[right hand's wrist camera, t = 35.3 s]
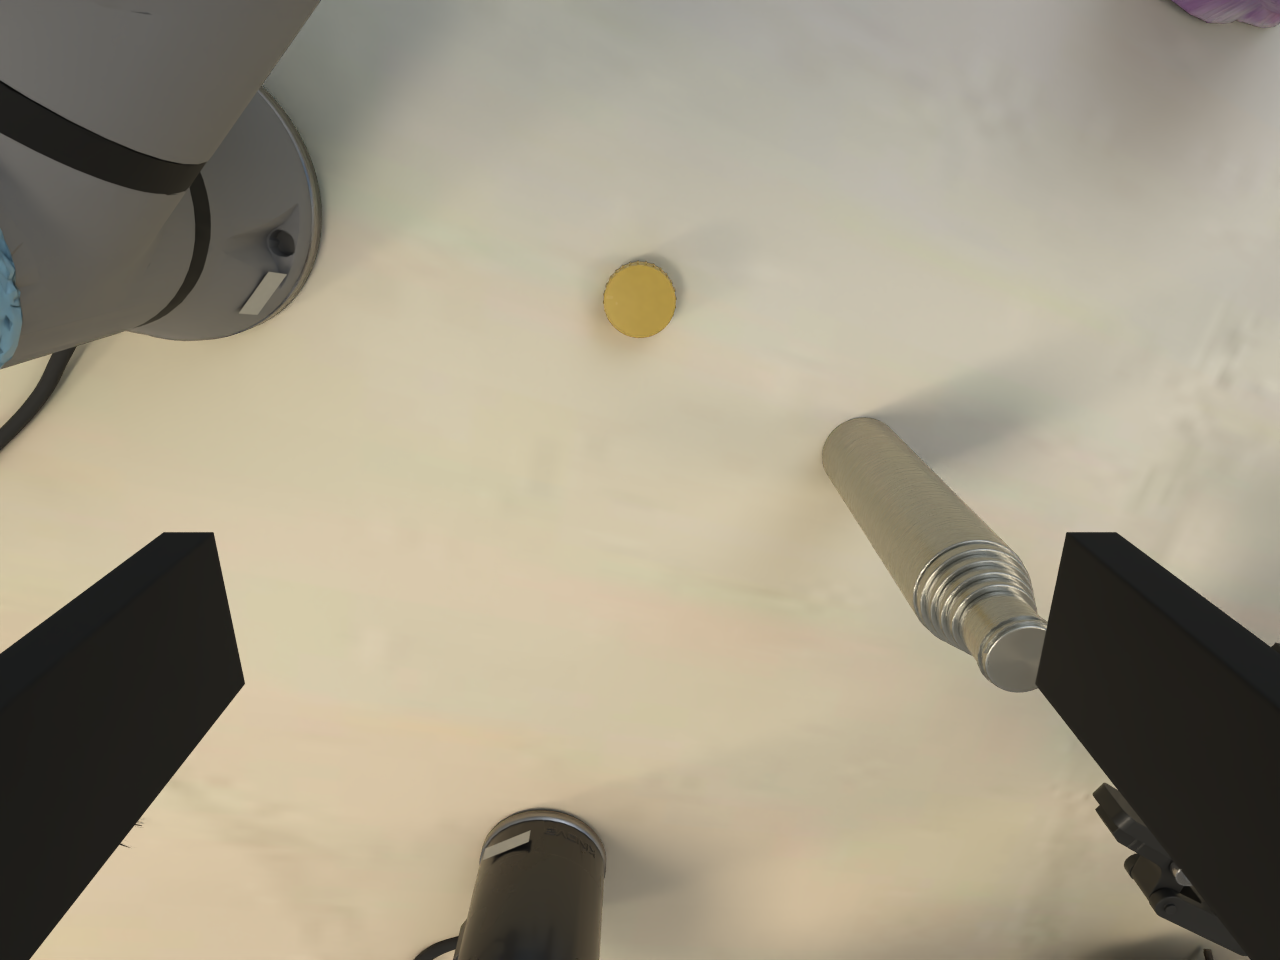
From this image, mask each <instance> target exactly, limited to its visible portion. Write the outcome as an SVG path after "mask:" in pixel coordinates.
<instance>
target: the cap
mask: <svg viewBox="0 0 1280 960" xmlns="http://www.w3.org/2000/svg"><path fill="white" fill-rule="evenodd" d="M674 292H675V289H674V287H673V286H672V280H670V279H669V277H668V275H667V273H665V272H664V271H663V270H662V269H661V267H660V268H659V267H657V266H655V264H654V263H653V264H651V263H647V261H645V262H639V261H637V262H633V263H631V262H629V264H626V265H622V267H621V268H619V269H618V270H615V273H614V274H613V275H612V276H610V279H609V282H608V283H607V284H606V291H604V301H603V304H604V308H605V310H604V311H605V312H606V315H607V317H608V319H609V321H610V322H611V324H612V325H613V326H614V327H615V328H616V329H617V330H618V331H620V332H621V333H623V334H625V335H627V336H630V337H635V338H644V337H649V336H652V335H655V334H657V333H658V332H660V331H661V330H662V329H664V328H665V327H666V326H667V325H668V323H669V322H670V320H671V318H672V316H673V315H674V310H675V308H676V305H675V304H676V296H675V293H674Z"/></svg>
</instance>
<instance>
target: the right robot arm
mask: <svg viewBox="0 0 1280 960" xmlns="http://www.w3.org/2000/svg"><path fill="white" fill-rule="evenodd" d="M320 1H321V0H0V369H3V368H6V367H9V366H13V365H16V364H19V363H22V362H26V361H29V360H32V359H36V358H39V357H42V356H45V355H49V354H52V353H53V354H52V356H51V358H50V360H49V362H48V364H47V367H46V369H45V371H44V373H43V375H42V377H41V379H40V381H39V383H38V384H37V386H36V388H35V389H34V391H33V392H32V393H31V395H30V396H29V397H28V399H27V400H26V401H25V403H24V404H23V405H22V406H21V407H20V409H19V410H18V411H17V412H16V413H15V414H14V415H13V416H12V417H11V418H10V419H9V420H8V421H7V422H6V423H5V424H4V425H3V426H2V427H1V428H0V450H1V449H2V448H3V447H4V446H5V445H6V444H7V443H8V442H9V441H10V440H12V439H13V438H14V437H15V436H16V435H17V434H18V433H19V432H20V431H21V430H22V429H23V428H24V427H25V426H26V424H27V423H28V422H29V421H30V420H31V419H32V418H33V417H34V416H35V414H36V413H37V412H38V411H39V410H40V408H41V407H42V406H43V405H44V403H45V402H46V401H47V399H48V398H49V397H50V395H51V394H52V392H53V391H54V389H55V387H56V386H57V384H58V382H59V380H60V378H61V376H62V374H63V372H64V370H65V367H66V365H67V363H68V361H69V359H70V357H71V356H72V354H73V352H74V350H75V348H76V347H77V346H78V345H81V344H84V343H88V342H91V341H94V340H98V339H101V338H104V337H107V336H111V335H114V334H117V333H120V332H124V331H129V332H134V333H139V334H144V335H149V336H152V337H157V338H162V339H169V340H178V341H198V340H209V339H217V338H222V337H228V336H231V335H234V334H237V333H240V332H243V331H246V330H248V329H251V328H253V327H255V326H257V325H260V324H262V323H263V322H265V321H267V320H269V319H270V318H272V317H273V316H275V315H276V314H277V313H279V312H280V311H281V310H282V309H283V308H285V307H286V306H287V305H288V304H289V303H290V302H291V301H292V299H293V298H294V297H295V296H296V295H297V294H298V292H299V291H300V289H301V288H302V286H303V285H304V283H305V281H306V280H307V278H308V276H309V274H310V272H311V269H312V267H313V264H314V262H315V259H316V255H317V251H318V248H319V242H320V236H321V225H322V210H321V199H320V191H319V186H318V182H317V177H316V173H315V170H314V167H313V164H312V161H311V158H310V156H309V154H308V151H307V149H306V146H305V144H304V142H303V140H302V139H301V137H300V135H299V133H298V131H297V129H296V128H295V126H294V125H293V123H292V121H291V120H290V118H289V117H288V116H287V114H286V113H285V112H284V110H283V109H282V108H281V106H280V105H279V104H278V103H277V102H276V100H275V99H274V98H273V97H272V96H271V95H270V94H269V93H268V92H267V91H266V90H265V89H264V88H263V87H262V86H261V85H262V84H263V82H264V81H265V80H266V78H267V77H268V75H269V74H270V72H271V71H272V70H273V68H274V67H275V65H276V64H277V62H278V61H279V60H280V58H281V57H282V55H283V54H284V52H285V51H286V49H287V48H288V47H289V45H290V44H291V42H292V41H293V39H294V38H295V37H296V35H297V34H298V32H299V31H300V29H301V28H302V27H303V25H304V24H305V22H306V21H307V19H308V18H309V17H310V15H311V14H312V12H313V11H314V9H315V8H316V7H317V5H318V4H319V2H320ZM244 684H245V682H244V677H243V672H242V667H241V662H240V658H239V653H238V648H237V643H236V638H235V634H234V629H233V624H232V619H231V614H230V610H229V605H228V600H227V595H226V590H225V586H224V581H223V576H222V571H221V566H220V561H219V557H218V552H217V547H216V542H215V537H214V533H213V532H164V533H162V534H161V535H160V536H158V537H157V538H155V539H154V540H153V541H151V542H150V543H149V544H147V545H146V546H145V547H143V548H142V549H141V550H139V551H138V552H137V553H135V554H134V555H133V556H131V557H130V558H129V559H127V560H126V561H125V562H123V563H122V564H121V565H119V566H118V567H116V568H115V569H114V570H112V571H111V572H110V573H108V574H107V575H106V576H104V577H103V578H102V579H100V580H99V581H98V582H96V583H95V584H94V585H92V586H91V587H90V588H88V589H87V590H86V591H84V592H83V593H82V594H80V595H79V596H77V597H76V598H75V599H73V600H72V601H71V602H69V603H68V604H67V605H65V606H64V607H63V608H61V609H60V610H59V611H57V612H56V613H55V614H53V615H52V616H51V617H49V618H48V619H47V620H45V621H44V622H43V623H41V624H40V625H38V626H37V627H36V628H34V629H33V630H32V631H30V632H29V633H28V634H26V635H25V636H24V637H22V638H21V639H20V640H18V641H17V642H16V643H14V644H13V645H12V646H10V647H9V648H8V649H6V650H5V651H3V652H2V653H1V654H0V960H29V959H30V958H31V957H32V956H33V954H34V953H35V952H36V950H37V949H38V948H39V947H40V945H41V944H42V943H43V941H44V940H45V939H46V938H47V936H48V935H49V934H50V933H51V931H52V930H53V929H54V927H55V926H56V925H57V924H58V922H59V921H60V920H61V918H62V917H63V916H64V915H65V913H66V912H67V911H68V909H69V908H70V907H71V906H72V904H73V903H74V902H75V901H76V899H77V898H78V897H79V895H80V894H81V893H82V892H83V890H84V889H85V888H86V886H87V885H88V884H89V883H90V881H91V880H92V879H93V878H94V876H95V875H96V874H97V872H98V871H99V870H100V869H101V867H102V866H103V865H104V863H105V862H106V861H107V860H108V858H109V857H110V856H111V854H112V853H113V852H114V851H115V849H116V848H117V847H118V846H119V844H120V843H121V842H122V840H123V839H124V838H125V837H126V835H127V834H128V833H129V831H130V830H131V829H132V828H133V826H134V825H135V824H136V822H137V821H138V820H139V819H140V817H141V816H142V815H143V814H144V812H145V811H146V810H147V808H148V807H149V806H150V805H151V803H152V802H153V801H154V799H155V798H156V797H157V796H158V794H159V793H160V792H161V791H162V789H163V788H164V787H165V785H166V784H167V783H168V782H169V780H170V779H171V778H172V776H173V775H174V774H175V773H176V771H177V770H178V769H179V767H180V766H181V765H182V764H183V762H184V761H185V760H186V759H187V757H188V756H189V755H190V753H191V752H192V751H193V750H194V748H195V747H196V746H197V744H198V743H199V742H200V741H201V739H202V738H203V737H204V735H205V734H206V733H207V732H208V730H209V729H210V728H211V727H212V725H213V724H214V723H215V721H216V720H217V719H218V718H219V716H220V715H221V714H222V712H223V711H224V710H225V709H226V707H227V706H228V705H229V703H230V702H231V701H232V700H233V698H234V697H235V696H236V695H237V693H238V692H239V691H240V689H241V688H242V687H243V686H244ZM1035 684H1036V686H1037V687H1038V688H1039V689H1040V691H1041V692H1042V693H1043V695H1044V696H1045V697H1046V698H1047V700H1048V701H1049V702H1050V703H1051V705H1052V706H1053V707H1054V709H1055V710H1056V711H1057V712H1058V714H1059V715H1060V716H1061V718H1062V719H1063V720H1064V721H1065V723H1066V724H1067V725H1068V727H1069V728H1070V729H1071V730H1072V732H1073V733H1074V734H1075V735H1076V737H1077V738H1078V739H1079V741H1080V742H1081V743H1082V744H1083V746H1084V747H1085V748H1086V750H1087V751H1088V752H1089V753H1090V755H1091V756H1092V757H1093V759H1094V760H1095V761H1096V762H1097V764H1098V765H1099V766H1100V767H1101V769H1102V770H1103V771H1104V773H1105V774H1106V775H1107V776H1108V778H1109V779H1110V780H1111V782H1112V783H1113V784H1114V785H1115V787H1116V788H1117V789H1118V791H1119V792H1120V793H1121V794H1122V796H1123V797H1124V798H1125V799H1126V801H1127V802H1128V803H1129V805H1130V806H1131V807H1132V808H1133V810H1134V811H1135V812H1136V814H1137V815H1138V816H1139V817H1140V819H1141V820H1142V821H1143V822H1144V824H1145V825H1146V826H1147V828H1148V829H1149V830H1150V831H1151V833H1152V834H1153V835H1154V837H1155V838H1156V839H1157V840H1158V842H1159V843H1160V844H1161V846H1162V847H1163V848H1164V849H1165V851H1166V852H1167V853H1168V854H1169V856H1170V857H1171V858H1172V860H1173V861H1174V862H1175V863H1176V865H1177V866H1178V867H1179V869H1180V870H1181V871H1182V872H1183V874H1184V875H1185V876H1186V878H1187V879H1188V880H1189V881H1190V883H1191V884H1192V885H1193V886H1194V888H1195V889H1196V890H1197V892H1198V893H1199V894H1200V895H1201V897H1202V898H1203V899H1204V901H1205V902H1206V903H1207V904H1208V906H1209V907H1210V908H1211V909H1212V911H1213V912H1214V913H1215V915H1216V916H1217V917H1218V918H1219V920H1220V921H1221V922H1222V924H1223V925H1224V926H1225V927H1226V929H1227V930H1228V931H1229V933H1230V934H1231V935H1232V936H1233V938H1234V939H1235V940H1236V941H1237V943H1238V944H1239V945H1240V947H1241V948H1242V949H1243V950H1244V952H1245V953H1246V954H1247V956H1248V957H1249V958H1250V959H1251V960H1280V654H1279V653H1278V652H1277V651H1275V650H1274V649H1272V648H1271V647H1270V646H1268V645H1267V644H1266V643H1264V642H1263V641H1262V640H1260V639H1259V638H1258V637H1256V636H1255V635H1254V634H1252V633H1251V632H1250V631H1248V630H1247V629H1246V628H1244V627H1243V626H1242V625H1240V624H1239V623H1238V622H1236V621H1235V620H1233V619H1232V618H1231V617H1229V616H1228V615H1227V614H1225V613H1224V612H1223V611H1221V610H1220V609H1219V608H1217V607H1216V606H1215V605H1213V604H1212V603H1211V602H1209V601H1208V600H1207V599H1205V598H1204V597H1203V596H1201V595H1200V594H1198V593H1197V592H1196V591H1194V590H1193V589H1192V588H1190V587H1189V586H1188V585H1186V584H1185V583H1184V582H1182V581H1181V580H1180V579H1178V578H1177V577H1176V576H1174V575H1173V574H1172V573H1170V572H1169V571H1168V570H1166V569H1165V568H1164V567H1162V566H1161V565H1159V564H1158V563H1157V562H1155V561H1154V560H1153V559H1151V558H1150V557H1149V556H1147V555H1146V554H1145V553H1143V552H1142V551H1141V550H1139V549H1138V548H1137V547H1135V546H1134V545H1133V544H1131V543H1130V542H1129V541H1127V540H1126V539H1125V538H1123V537H1122V536H1120V535H1119V534H1118V533H1116V532H1067V533H1066V537H1065V542H1064V547H1063V552H1062V557H1061V561H1060V566H1059V571H1058V576H1057V581H1056V586H1055V590H1054V595H1053V600H1052V605H1051V610H1050V614H1049V619H1048V624H1047V629H1046V634H1045V638H1044V643H1043V648H1042V653H1041V658H1040V662H1039V667H1038V672H1037V677H1036V682H1035Z"/></svg>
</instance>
